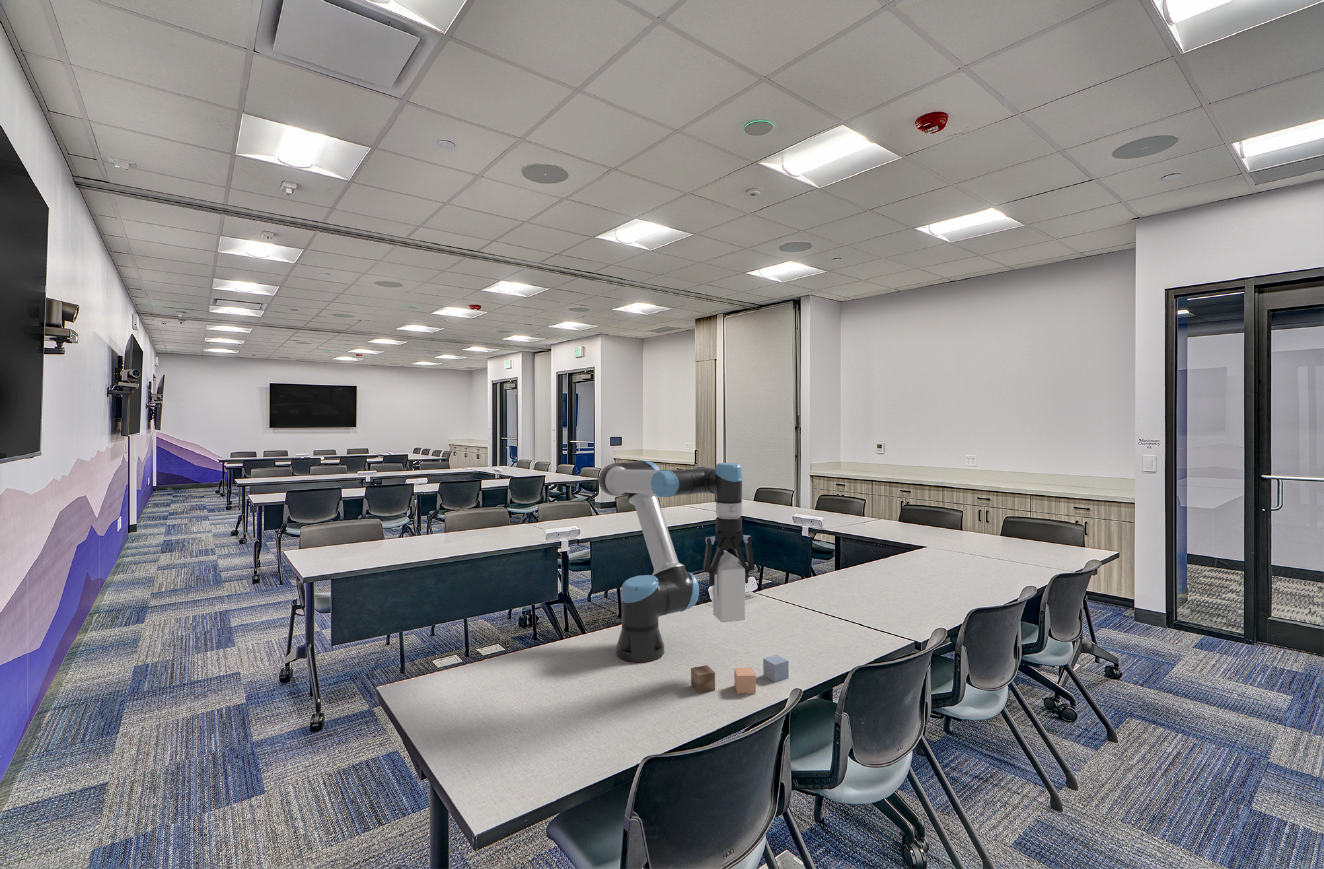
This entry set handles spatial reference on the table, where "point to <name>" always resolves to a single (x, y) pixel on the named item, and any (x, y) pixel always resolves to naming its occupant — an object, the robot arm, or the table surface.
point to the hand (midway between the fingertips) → (728, 595)
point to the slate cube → (775, 668)
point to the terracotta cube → (744, 680)
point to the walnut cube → (703, 679)
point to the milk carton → (729, 590)
